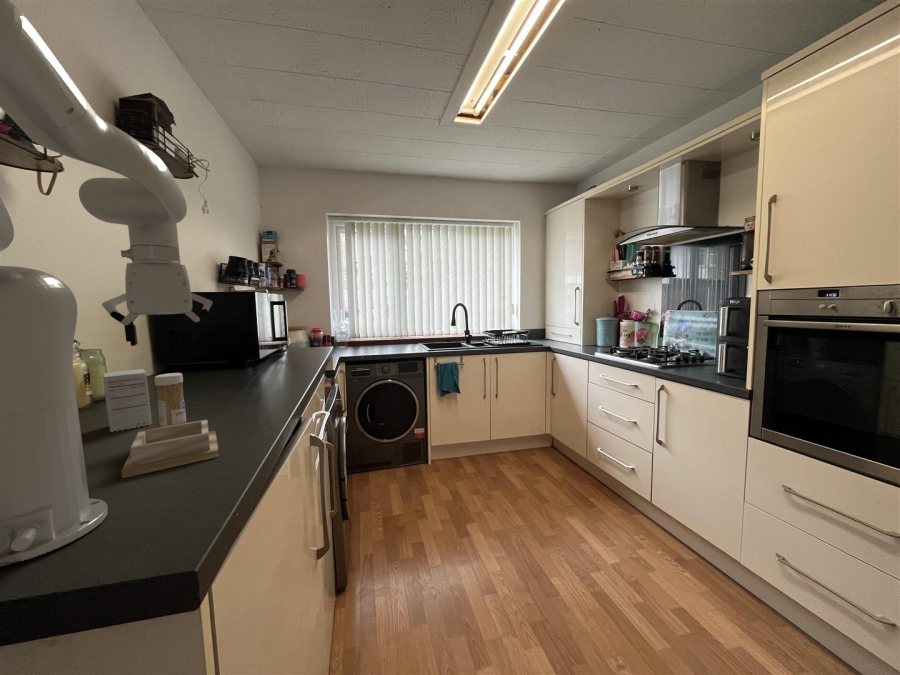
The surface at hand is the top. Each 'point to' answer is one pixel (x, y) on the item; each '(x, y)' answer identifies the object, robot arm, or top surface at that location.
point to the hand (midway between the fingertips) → (165, 343)
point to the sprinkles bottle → (170, 399)
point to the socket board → (170, 447)
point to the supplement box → (127, 399)
